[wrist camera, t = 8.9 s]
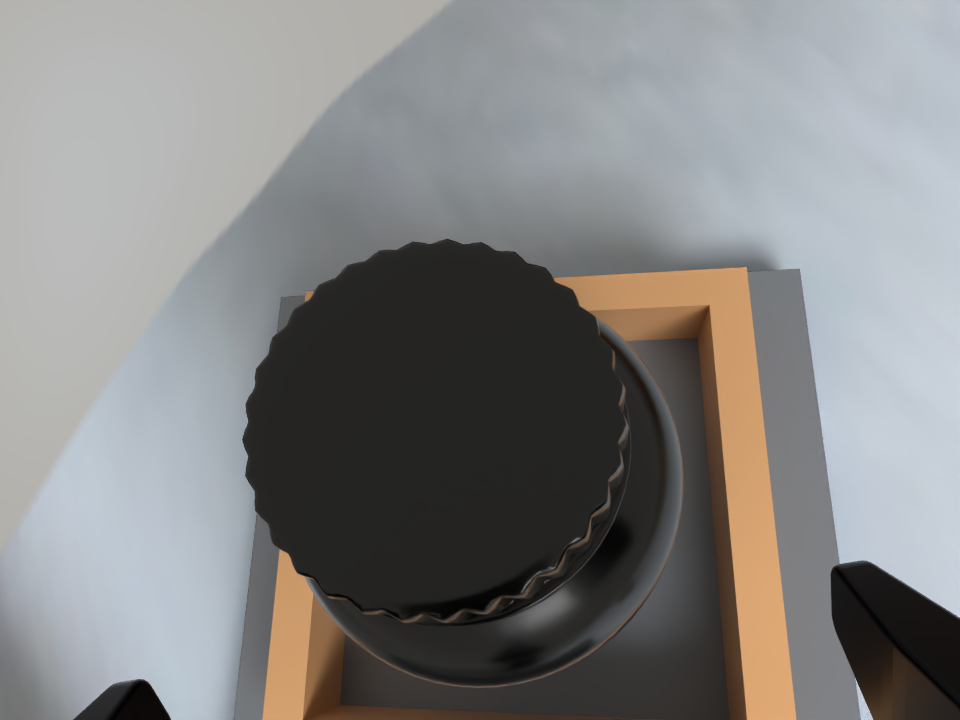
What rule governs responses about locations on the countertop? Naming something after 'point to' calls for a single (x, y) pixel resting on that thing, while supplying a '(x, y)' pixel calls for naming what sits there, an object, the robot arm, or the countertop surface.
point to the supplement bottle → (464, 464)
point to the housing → (693, 559)
